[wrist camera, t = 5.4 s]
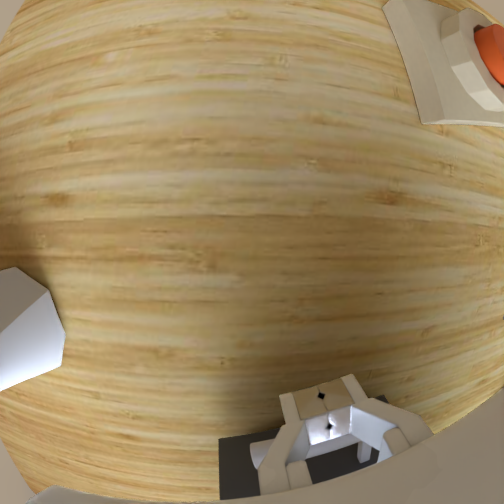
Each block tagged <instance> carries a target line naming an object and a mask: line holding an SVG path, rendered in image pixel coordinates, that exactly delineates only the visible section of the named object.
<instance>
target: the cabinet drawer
mask: <svg viewBox="0 0 504 504" xmlns="http://www.w3.org/2000/svg"><path fill="white" fill-rule="evenodd" d="M375 399H377V400H380V401H382V402H385V403H388V404H389V402H388V401H387V399H386V398H385V396H384V395H381V396H378V397H376V398H375ZM280 428H281V427H280ZM280 428H276V429H272V430H267V431H262V432H257V433H252V434H246V435H240V436H234V437H228V438H221V439H219V490H220V500H229V499H238V498H247V497H254V496H261V494H260V486H259V478H258V470H257V468H258V467H259V465H260V463H261V462H262V460H263V458H264V457H265V455H266V453H267V452H268V450H269V448H270V446H271V445H272V443H273V441H274V439H275V438H276V436H277V434H278V432H279V430H280ZM379 452H380V451H379V450H377V449H375V448H374V447H372V446H370V445H369V444H367V443H365V442H363V441H362V440H360V439H358V438H357V437H355V436H354V435H352V434H351V433H350V434H347V435H344V436H340V437H337V438H334V439H330V440H327V441H324V442H321V443H318V444H315V445H312V446H310V448H309V451H308V454H307V456H306V459H305V462H306V464H307V468H308V471H309V474H310V477H311V481H312V484H316V483H320V482H324V481H327V480H330V479H333V478H337V477H340V476H343V475H346V474H349V473H352V472H354V471H357V470H360V469H362V468H365V467H368V466H370V465H373V464H375V463H377V461H378V457H379Z"/></svg>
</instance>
